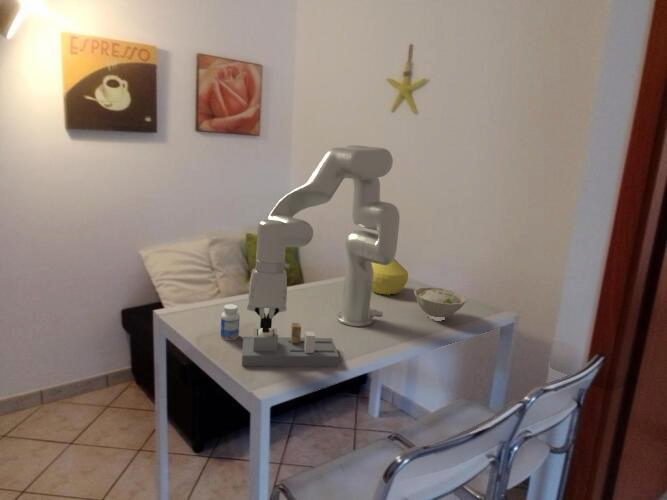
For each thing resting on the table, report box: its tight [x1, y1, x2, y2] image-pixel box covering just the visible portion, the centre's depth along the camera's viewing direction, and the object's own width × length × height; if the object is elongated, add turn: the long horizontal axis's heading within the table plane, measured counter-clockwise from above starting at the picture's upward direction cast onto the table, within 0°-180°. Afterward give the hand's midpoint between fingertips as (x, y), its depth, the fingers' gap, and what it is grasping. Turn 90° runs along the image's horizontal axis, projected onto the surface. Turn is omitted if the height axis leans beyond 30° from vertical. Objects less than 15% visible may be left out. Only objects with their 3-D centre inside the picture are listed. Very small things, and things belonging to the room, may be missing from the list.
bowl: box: [413, 286, 468, 318], centre depth 174 cm, size 19×19×10 cm
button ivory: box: [258, 328, 273, 336], centre depth 131 cm, size 4×4×4 cm
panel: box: [241, 327, 340, 367], centre depth 132 cm, size 26×12×7 cm, turn 100°
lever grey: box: [304, 331, 316, 353], centre depth 130 cm, size 2×3×5 cm
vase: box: [371, 258, 409, 296], centre depth 198 cm, size 18×18×19 cm
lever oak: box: [290, 322, 302, 344], centre depth 135 cm, size 2×3×5 cm
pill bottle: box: [220, 303, 241, 341], centre depth 141 cm, size 6×5×10 cm
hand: (265, 330), depth 130 cm, fingers closed
